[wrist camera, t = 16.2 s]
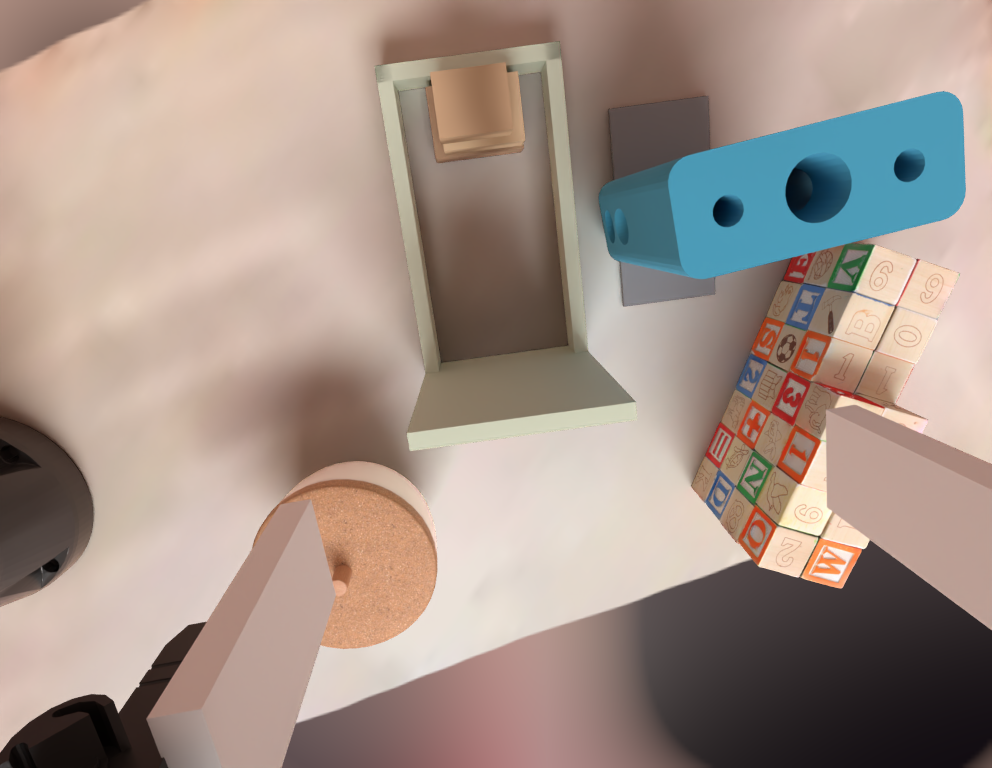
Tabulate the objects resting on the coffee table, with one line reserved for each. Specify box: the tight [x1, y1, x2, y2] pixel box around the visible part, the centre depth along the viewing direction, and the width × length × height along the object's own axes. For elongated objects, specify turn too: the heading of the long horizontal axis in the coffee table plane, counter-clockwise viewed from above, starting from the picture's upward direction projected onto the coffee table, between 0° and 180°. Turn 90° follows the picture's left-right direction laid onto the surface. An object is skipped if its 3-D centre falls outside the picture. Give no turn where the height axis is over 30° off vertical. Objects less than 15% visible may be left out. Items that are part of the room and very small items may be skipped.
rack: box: [374, 41, 637, 451], centre depth 36 cm, size 12×22×16 cm, turn 7°
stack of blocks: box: [692, 243, 960, 588], centre depth 42 cm, size 21×6×12 cm, turn 162°
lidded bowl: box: [252, 461, 437, 649], centre depth 44 cm, size 13×13×11 cm
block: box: [599, 91, 966, 279], centre depth 34 cm, size 12×5×20 cm, turn 104°
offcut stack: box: [425, 62, 525, 163], centre depth 38 cm, size 6×4×8 cm
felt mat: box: [608, 96, 715, 307], centre depth 44 cm, size 7×14×1 cm, turn 7°
